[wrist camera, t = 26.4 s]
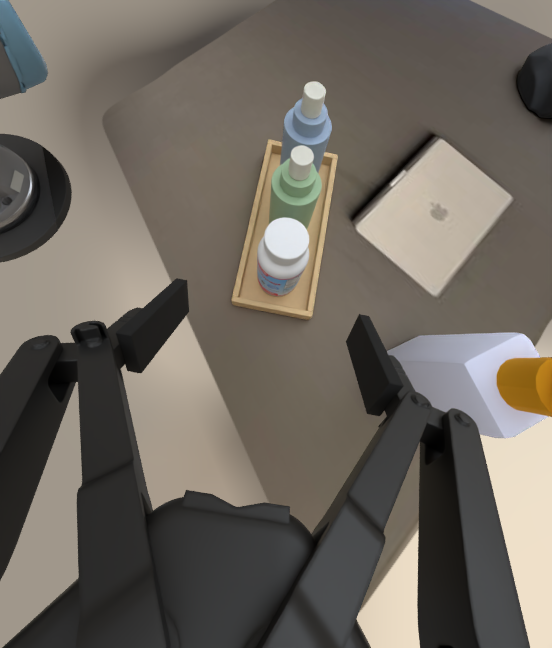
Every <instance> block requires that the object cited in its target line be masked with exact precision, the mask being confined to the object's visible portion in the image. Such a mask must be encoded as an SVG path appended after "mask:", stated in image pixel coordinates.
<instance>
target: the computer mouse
mask: <svg viewBox="0 0 552 648" xmlns="http://www.w3.org/2000/svg"><path fill="white" fill-rule="evenodd" d="M517 85H518V89H519V92H520V94H521V96H522V98H523V100H524V102H525V104H526V106H527V107H528V109H530V110H532V111H534V112H535V113H536V114H537V115H539V117H543V118H552V43H551V44H548V45H545V46H543V47H541V48H539V49H537V50H536V51H534V52H532V53H531V54H530V55H529V56H528V58H527V59H526V61H525V63H524V65H523V67H522V69H521V71H520V73H519V75H518V78H517Z"/></svg>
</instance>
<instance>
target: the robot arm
mask: <svg viewBox="0 0 552 648" xmlns="http://www.w3.org/2000/svg"><path fill="white" fill-rule="evenodd" d="M47 74H48V72H47V66H46V63H45V61H44V59H43V57H42V56H41V54H40V52H39V51H38V49H37V47H36V45H35V44H34V42H33V40H32V39H31V37H30V35H29V34H28V32H27V30H26V29H25V27H24V25H23V24H22V22H21V20H20V19H19V17H18V15H17V14H16V12H15V10H14V9H13V7H12V5H11V4H10V2H9V0H0V99H1V98H5V97H8V96H11V95H14V94H18V93H25V92H26V89H29V88H31V87H33V86H35V85H38V84H40V83H42V82H44V81H45V80H46V77H47ZM39 197H40V182H39V178H38V176H37V174H36V172H35V171H34V169H33V168H32V167H31V166H30V165H29V164H28V163H27V162H26V161H24V160H23V159H22V158H21V157H20V156H19V155H17V154H16V153H15V152H13V151H11V150H10V149H8V148H6V147H4V146H2V145H0V234H2V233H5V232H7V231H10V230H12V229H13V228H15V227H17V226H18V225H20V224H21V223H22V222H24V221H25V220H26V219H27V218H28V217H29V216H30V215H31V213H32V212H33V211H34V209H35V207H36V205H37V203H38V200H39ZM188 312H189V304H188V288H187V280H182V279H175V280H174V281H173V282H172V283H171V284H170V285H169V286H168V287H166V288H165V289H164V290H163V291H162V292H161V293H160V294H159V295H157V296H156V297H155V298H154V299H153V300H152V301H151V302H149V303H148V304H147V305H146V306H145V307H144V308H135V309H132V310H130V311H128V312H127V313H126V314H125V315H123V317H121V318H120V319H119V320H118V321H116V322H115V323H114V324H112V325H111V326H110V327H109V328H108V329H107V328H106V326H105V324H104V323H102V322H100V321H88V322H83V323H80V324H78V325H76V326H75V327H73V328H72V330H71V335H72V337H73V339H74V341H75V343H60V341H59V339H58V338H57V337H56V336H52V335H44V336H38V337H35V338H32V339H30V340H28V341H26V342H24V343H23V344H22V345H21V346H20V347H19V349H18V350H17V352H16V353H15V355H14V356H13V357H12V359H11V360H10V362H9V363H8V365H7V366H6V368H5V369H4V370H3V372H2V373H1V374H0V580H1V578H2V576H3V574H4V572H5V570H6V568H7V566H8V563H9V561H10V559H11V556H12V554H13V551H14V549H15V547H16V544H17V541H18V539H19V536H20V533H21V530H22V528H23V525H24V522H25V519H26V517H27V514H28V511H29V509H30V505H31V503H32V500H33V498H34V495H35V492H36V489H37V487H38V484H39V481H40V479H41V476H42V473H43V470H44V468H45V465H46V462H47V460H48V457H49V454H50V451H51V449H52V446H53V443H54V440H55V438H56V435H57V432H58V429H59V427H60V424H61V421H62V418H63V416H64V413H65V410H66V408H67V405H68V402H69V399H70V397H71V394H72V391H73V388H74V386H75V383H76V382H78V389H79V390H78V391H79V414H80V437H81V460H82V486H81V487H80V488H79V489H78V493H77V527H78V566H79V578H78V579H77V580H76V581H75V582H74V583H73V584H72V585H71V586H69V587H68V588H67V589H66V590H65V591H64V592H63V593H62V594H61V595H60V596H58V597H57V598H56V599H55V600H54V601H53V602H52V603H51V604H50V605H49V606H47V607H46V608H45V609H44V610H43V611H42V612H41V613H40V614H39V615H38V616H36V618H34V619H33V620H32V621H31V622H30V623H29V624H28V625H27V626H25V627H24V628H23V629H22V630H21V631H20V632H19V633H18V634H17V635H16V636H15V637H13V638H12V639H11V640H10V641H9V642H8V643H7V644H6V645H5V646H4V647H3V648H371V647H370V645H369V643H368V641H367V639H366V637H365V635H364V633H363V631H362V629H361V627H360V626H359V624H358V622H357V620H356V618H357V615H358V613H359V610H360V608H361V605H362V602H363V600H364V597H365V594H366V592H367V589H368V587H369V584H370V581H371V579H372V576H373V574H374V571H375V568H376V566H377V563H378V561H379V558H380V555H381V553H382V550H383V547H384V544H385V536H384V534H383V532H384V528H385V526H386V523H387V521H388V518H389V516H390V513H391V511H392V508H393V506H394V503H395V501H396V498H397V496H398V493H399V491H400V488H401V486H402V483H403V481H404V479H405V476H406V474H407V471H408V469H409V466H410V464H411V461H412V459H413V456H414V454H415V451H416V449H417V446H418V444H419V441H420V481H419V544H418V545H419V547H418V630H419V640H420V648H530V645H529V641H528V636H527V632H526V629H525V624H524V620H523V615H522V611H521V607H520V603H519V599H518V594H517V590H516V586H515V582H514V577H513V573H512V569H511V565H510V561H509V556H508V553H507V548H506V544H505V540H504V535H503V531H502V527H501V523H500V518H499V514H498V510H497V506H496V502H495V498H494V493H493V489H492V485H491V481H490V476H489V472H488V468H487V464H486V459H485V455H484V451H483V447H482V442H481V438H480V434H479V430H478V427H477V424H476V423H475V421H474V420H473V419H472V418H471V417H470V416H469V415H468V414H466V413H464V412H463V411H461V410H458V409H455V408H451V409H450V410H448V411H447V412H443V411H441V410H439V409H437V408H434V407H432V405H431V403H430V401H429V400H428V399H427V398H426V397H425V396H423V395H422V394H420V393H418V392H416V391H415V389H414V388H413V386H412V384H411V382H410V380H409V378H408V376H407V375H406V373H405V371H404V369H403V367H402V365H401V364H400V362H399V361H398V360H397V359H396V358H395V357H394V356H393V355H388V353H387V351H386V349H385V347H384V345H383V343H382V341H381V339H380V337H379V335H378V333H377V331H376V329H375V327H374V325H373V323H372V321H371V319H370V317H369V316H365V315H360V314H359V316H358V318H357V320H356V322H355V324H354V326H353V328H352V330H351V332H350V334H349V337H348V339H347V341H346V343H347V346H348V350H349V353H350V357H351V360H352V364H353V367H354V370H355V374H356V377H357V381H358V384H359V388H360V391H361V395H362V398H363V401H364V405H365V408H366V412H367V414H371V415H377V416H380V415H381V414H382V413H383V411H384V410H385V412H386V415H387V417H386V418H385V419H384V420H383V422H382V423H381V424H380V425H379V426H378V427H379V429H378V430H377V432H376V434H375V435H374V437H373V438H372V440H371V442H370V443H369V445H368V446H367V448H366V450H365V451H364V453H363V455H362V456H361V458H360V459H359V461H358V463H357V464H356V466H355V467H354V469H353V471H352V472H351V474H350V475H349V477H348V479H347V480H346V482H345V483H344V485H343V487H342V488H341V490H340V491H339V493H338V495H337V496H336V498H335V499H334V501H333V503H332V504H331V506H330V507H329V509H328V511H327V512H326V514H325V515H324V517H323V518H322V520H321V521H320V522H319V524H318V525H317V526H316V528H315V529H314V531H313V532H312V534H311V533H310V532H309V531H308V529H307V528H306V527H305V526H304V525H303V524H302V523H301V522H300V521H299V520H298V519H296V518H295V517H294V516H292V515H290V507H289V506H282V505H276V504H270V503H260V504H254V505H248V506H242V507H235V506H233V505H231V504H229V503H227V502H226V501H224V500H222V499H220V498H218V497H216V496H214V495H212V494H207V493H201V492H195V491H189V490H186V492H185V495H184V497H182V498H177V499H174V500H171V501H169V502H167V503H165V504H163V505H161V506H159V507H158V508H156V509H155V510H154V511H153V509H152V505H151V501H150V498H149V494H148V491H147V487H146V482H145V478H144V473H143V468H142V464H141V459H140V455H139V450H138V446H137V441H136V436H135V432H134V427H133V423H132V418H131V414H130V409H129V404H128V400H127V395H126V391H125V387H124V382H123V377H122V373H121V370H120V369H121V368H122V367H123V366H124V364H125V365H126V368H127V371H131V372H137V373H142V372H143V370H144V369H145V368H146V366H147V365H148V364H149V363H150V361H151V360H152V359H153V358H154V356H155V355H156V353H157V352H158V351H159V350H160V348H161V347H162V346H163V345H164V343H165V342H166V341H167V339H168V338H169V337H170V336H171V334H172V333H173V332H174V330H175V329H176V328H177V326H178V325H179V324H180V322H181V321H182V320H183V319H184V317H185V316H186V315H187V314H188Z"/></svg>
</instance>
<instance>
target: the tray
mask: <svg viewBox="0 0 552 648" xmlns="http://www.w3.org/2000/svg"><path fill="white" fill-rule="evenodd" d="M281 149H282V142H278V141H273V140H268V143H267V148H266V152H265V156H264V161H263V165H262V169H261V174H260V178H259V182H258V187H257V191H256V196H255V200H254V204H253V209H252V213H251V217H250V222H249V226H248V230H247V235H246V239H245V243H244V248H243V252H242V256H241V261H240V265H239V270H238V274H237V278H236V283H235V287H234V291H233V296H232V300H231V301H232V303H233V305H235V306H240V307H245V308H250V309H255V310H260V311H265V312H270V313H275V314H281V315H286V316H291V317H296V318H301V319H306V320H309V319H310V318H311V317H312V314H313V308H314V302H315V295H316V289H317V283H318V277H319V270H320V264H321V258H322V252H323V245H324V239H325V233H326V227H327V220H328V214H329V208H330V201H331V195H332V189H333V183H334V176H335V170H336V164H337V157H338V155H335V154H331V153H327V152H325V153H324V156H323V160H322V163H321V166H320V169H319V173H318V174H319V176H320V178H321V183H322V188H321V192H320V195H319V198H318V200H317V203H316V206H315V209H314V212H313V215H312V217H311V220H310V223H309V226H308V229H307V232H308V235H309V245H308V248H309V260H308V263H307V265H306V267H305V269H304V271H303V273H302V275H301V277H300V279H299V281H298V283H297V285H296V287H295V288H294V289H293V290H292V291H291V292H290V293H288V294H287V295H284V296H280V297H277V296H272V295H269V294H267V293H266V292H265V291H263V289H262V288H261V287H260V285H259V282H258V277H257V250H258V245H259V243H260V241H261V239H262V238H263V237H264V234H265V230H266V228H267V226H268V225H269V213H270V196H271V179H272V175H273V173H274V171H275V170H276V169H277V168H278V167H279V166H280V160H281Z"/></svg>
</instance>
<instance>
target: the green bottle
mask: <svg viewBox="0 0 552 648" xmlns="http://www.w3.org/2000/svg"><path fill="white" fill-rule="evenodd" d="M313 159H314V155H313V152H312V150H311V149H310V148H308V147H306V146H302V145H301V146H296V147H295V148H293V150H292V151H291V155H290V158H289V159H287V160H286V161H285V162H284V163H283V164H281V165H280V166H279V167H278V168H277V169H276V170H275V171H274V173H273V175H272V179H271V196H270V213H269V224H270V223H271V222H272V221H274V220H276V219H279V218H284V217H286V218H292V219H295V220H297V221H299V222H300V223H301V224H303V226H304V227H305V228H306V230H307V229H308V226H309V223H310V220H311V217H312V215H313V212H314V209H315V206H316V203H317V200H318V198H319V195H320V192H321V188H322V183H321V178H320V176H319V174H318V172H317V171H316V168H315V166H314V164H313Z"/></svg>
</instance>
